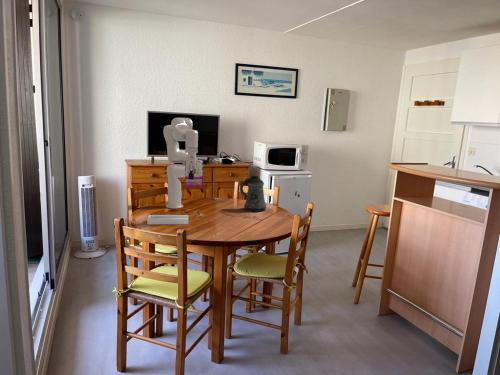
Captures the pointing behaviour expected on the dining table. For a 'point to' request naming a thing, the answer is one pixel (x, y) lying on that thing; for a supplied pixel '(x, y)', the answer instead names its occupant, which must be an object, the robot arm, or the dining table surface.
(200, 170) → the candy bar box
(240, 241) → the dining table surface
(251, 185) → the beer stein
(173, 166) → the robot arm
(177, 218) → the acrylic channel
